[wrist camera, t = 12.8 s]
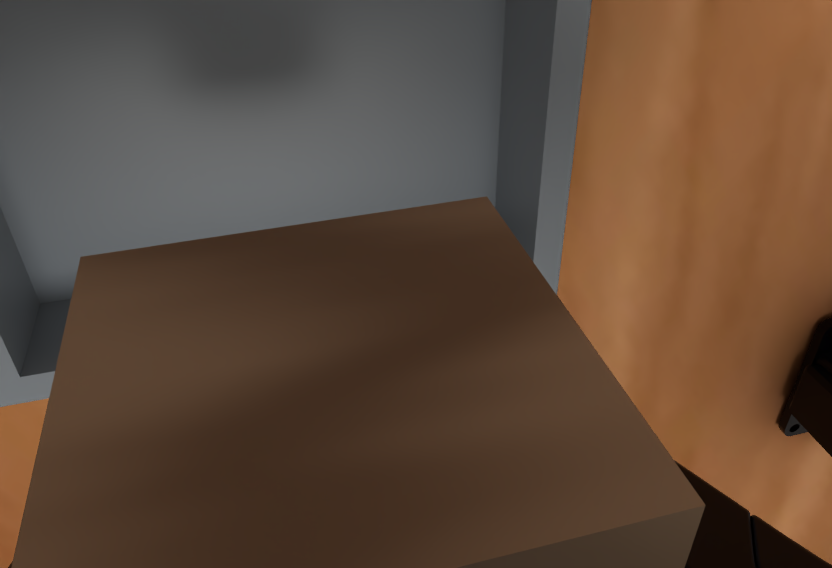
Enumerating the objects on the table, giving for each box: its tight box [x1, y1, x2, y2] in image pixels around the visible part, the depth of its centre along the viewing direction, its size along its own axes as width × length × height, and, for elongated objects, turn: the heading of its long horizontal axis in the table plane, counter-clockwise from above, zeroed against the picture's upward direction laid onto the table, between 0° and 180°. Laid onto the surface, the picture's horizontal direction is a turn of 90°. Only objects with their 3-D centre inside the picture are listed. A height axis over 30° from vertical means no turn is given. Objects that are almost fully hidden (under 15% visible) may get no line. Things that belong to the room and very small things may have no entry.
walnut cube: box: [11, 196, 705, 568], centre depth 8 cm, size 5×5×5 cm
